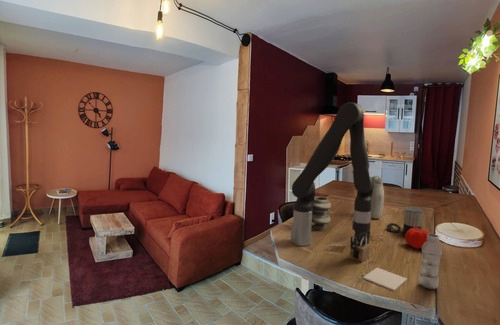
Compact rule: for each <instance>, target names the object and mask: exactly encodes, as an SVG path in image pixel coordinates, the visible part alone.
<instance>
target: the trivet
mask: <svg viewBox="0 0 500 325" xmlns="http://www.w3.org/2000/svg"><path fill="white" fill-rule="evenodd" d="M362 279H363V280H367V281H369V282H371V283H373V284H375V285H379V286H381V287H384V288H386V289H388V290H391V291H394V292H395V291H397V290H398V289H399V288H400V287H401V286H403V285H404V283H406V282H407V281H408V278H407V277H404V276H401V275H398V274H396V273H393V272H391V271H390V272H389V271H388V270H385V269H382V268H379V267H375V268H374V269H373V270H371V271H369V272H368V273H367V274H365V275H364V276H363V277H362Z"/></svg>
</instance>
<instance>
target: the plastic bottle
mask: <svg viewBox="0 0 500 325" xmlns="http://www.w3.org/2000/svg"><path fill="white" fill-rule="evenodd" d="M439 238H440V236H439V235H438V234H433V233H429V234H428V235H427V241H426V242H425V243H424V244H423V246H422V249H421V256H422V257H421V267H420V272H419V275H418V282H419V284H420V285H421V286H422V287H424V288H425V289H429V290H435V289H437V288H438V286H439V285H440V284H439V282H440V281H439V278H440V277H439V267H440V261H441V257H442V254H443V250H442V247H441V245H440V244H439V241H440V239H439Z"/></svg>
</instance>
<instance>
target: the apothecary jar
mask: <svg viewBox="0 0 500 325" xmlns="http://www.w3.org/2000/svg"><path fill="white" fill-rule="evenodd" d="M331 207H332V204H331V202H330V201H329V198H328V197H327V196H326V197H325V196H318V195H317V196H315V198H314V205H313V207H312V223H313V224H312V226H311V230H314V231H320V232H323V231H324V232H325V231H328V230H329V227H328V226H327V224H329V223H330V222H331V219H332V218H331V216H330V215H329V212H330V208H331Z"/></svg>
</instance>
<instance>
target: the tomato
mask: <svg viewBox="0 0 500 325" xmlns="http://www.w3.org/2000/svg"><path fill="white" fill-rule="evenodd" d="M428 234H430V233H429V231H428V230H426V229H421V230H420V229H419V228H417V227H414V228H413V229H409V230H408V231H407V233H406V235H404V238H405V242H406V244H408V245H409V246H410V247H411V248H414V249H416V250H418V249H421V250H422V246H423V244H424V243H425V242H426V241H427V235H428Z"/></svg>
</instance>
